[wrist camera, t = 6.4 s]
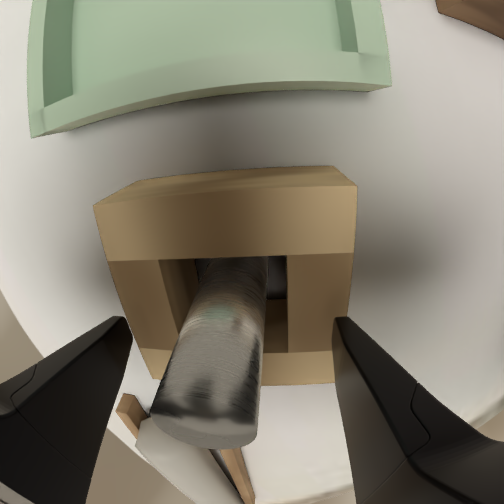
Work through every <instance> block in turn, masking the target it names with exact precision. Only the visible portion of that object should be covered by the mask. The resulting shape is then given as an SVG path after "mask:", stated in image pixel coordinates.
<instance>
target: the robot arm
mask: <svg viewBox="0 0 504 504" xmlns="http://www.w3.org/2000/svg"><path fill="white" fill-rule="evenodd" d="M132 342H133V336H132V333H131V330H130V328H129V325H128V323H127V320H126V319H125V318H124V317H122V316H113V317H111V318H109V319H108V320H106V321H104V322H103V323H101V324H99V325H98V326H96V327H94V328H93V329H91V330H89V331H88V332H86V333H85V334H83V335H81V336H80V337H78V338H76V339H75V340H73V341H72V342H70V343H68V344H67V345H65V346H63V347H62V348H60V349H59V350H57V351H55V352H54V353H52V354H51V355H49V356H47V357H46V358H44V359H43V360H41V361H39V362H38V363H37V364H34V365H33V366H31V367H30V368H28V369H26V370H25V371H23V372H21V373H20V374H18V375H16V376H14V377H13V378H11V379H9V380H7V381H6V382H3V383H1V384H0V504H85V503H86V498H87V494H88V490H89V486H90V483H91V478H92V475H93V471H94V467H95V463H96V460H97V457H98V453H99V450H100V446H101V443H102V439H103V437H104V433H105V430H106V427H107V424H108V421H109V418H110V415H111V412H112V409H113V406H114V403H115V400H116V397H117V394H118V391H119V389H120V386H121V383H122V380H123V377H124V373H125V369H126V365H127V361H128V357H129V353H130V350H131V346H132ZM331 343H332V354H333V365H334V376H335V386H336V392H337V397H338V402H339V407H340V412H341V417H342V422H343V427H344V432H345V437H346V443H347V448H348V454H349V460H350V465H351V471H352V477H353V484H354V490H355V497H356V504H504V442H501V441H496V440H493V439H490V438H488V437H486V436H484V435H483V434H481V433H480V432H478V431H477V430H476V429H474V428H473V427H472V426H470V425H469V424H468V423H467V422H465V421H464V420H463V419H461V418H460V417H459V416H457V415H456V414H455V413H453V412H452V411H451V410H449V409H448V408H447V407H446V406H444V405H443V404H442V403H441V402H439V401H438V400H437V399H436V398H435V397H434V396H433V395H432V394H431V393H429V392H428V391H427V390H426V389H425V388H424V387H423V386H422V385H421V384H420V383H417V380H416V379H414V378H413V377H412V376H411V375H410V374H409V373H408V372H407V371H406V370H405V369H404V368H403V367H402V366H401V365H400V364H399V363H398V362H396V361H395V360H394V359H393V358H392V357H391V356H390V355H389V354H388V353H387V352H386V351H385V350H384V349H383V348H382V347H381V346H379V345H378V344H377V343H376V342H375V341H374V340H373V339H372V338H371V337H370V336H369V335H368V334H367V333H365V332H364V331H363V330H362V329H361V328H360V327H359V326H358V325H357V324H356V323H355V322H354V321H352V320H351V319H350V318H349V317H347V316H341V317H335V318H334V321H333V330H332V339H331Z"/></svg>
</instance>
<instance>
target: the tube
mask: <svg viewBox="0 0 504 504" xmlns="http://www.w3.org/2000/svg"><path fill="white" fill-rule="evenodd" d="M135 447H136V448H137V449H138V450H139V451H140V453H141V454H142V455H143V456H144V457H145V458H146V460H147V461H148V462H149V463H150V464H151V465H152V466H153V467H154V468H155V469H156V470H158V471H159V472H160V473H161V474H162V475H163V476H164V477H165V478H166V479H168V480H169V481H170V482H171V483H172V484H173V485H174V486H175V487H176V488H178V489H179V490H180V491H181V492H182V493H184V494H185V495H186V496H187V497H189V498H190V499H191V500H192V501H194V502H195V503H196V504H245V503H244V501H243V499H242V498H241V496H240V495H239V494H238V492H237V491H236V490H235V488H234V487H233V485H232V484H231V483H230V481H229V480H228V478H227V477H226V475H225V474H224V472H223V471H222V469H221V468H220V466H219V465H218V463H217V462H216V460H215V459H214V457H213V456H212V454H211V452H210V451H209V449H207V448H201V447H197V446H193V445H190V444H187V443H184V442H181V441H179V440H177V439H175V438H173V437H171V436H169V435H168V434H166V433H165V432H163V431H162V430H161V429H160V428H159V427H158V426H157V425H156V424H155V423H154V422H153V420H152V418H151V417H150V418H147V419H145V420H143V421H141V424H140V428H139V433H138V438H137V441H136V444H135Z"/></svg>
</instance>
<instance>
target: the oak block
mask: <svg viewBox="0 0 504 504" xmlns="http://www.w3.org/2000/svg"><path fill="white" fill-rule="evenodd" d="M93 209H94V213H95V218H96V222H97V226H98V230H99V233H100V237H101V241H102V244H103V248H104V252H105V255H106V258H107V262H108V265H109V268H110V271H111V275H112V278H113V281H114V284H115V287H116V290H117V293H118V296H119V298H120V301H121V304H122V307H123V309H124V312H125V315H126V318H127V320H128V323H129V325H130V328H131V330H132V333H133V335H134V338H135V340H136V343H137V345H138V347H139V350H140V352H141V354H142V357H143V359H144V361H145V363H146V366H147V368H148V370H149V372H150V374H151V376H152V378H153V379H159V380H162V377H163V374H164V372H165V369H166V367H167V364H168V362H169V359H170V357H171V354H172V352H173V349H174V347H175V344H176V342H177V339H178V337H179V334H180V332H181V329H182V327H183V324H184V322H185V319H186V317H187V315H188V312H189V310H190V307H191V305H192V302H193V300H194V298H195V295H196V293H197V291H198V288H199V281H198V276H197V271H196V266H195V260H194V258H220V257H249V256H277V255H285V256H286V298H287V299H270V300H266V313H265V329H264V345H263V360H262V374H261V386H277V385H307V384H323V383H335V376H334V365H333V354H332V343H331V339H332V330H333V321H334V318H335V317H341V316H347V312H348V304H349V296H350V287H351V278H352V268H353V257H354V244H355V229H356V210H357V185H355V184H354V183H353V182H352V181H351V180H350V179H348V178H347V177H346V176H345V175H344V174H342V173H341V172H340V171H339V170H338V169H336V168H335V167H334V166H298V167H273V168H255V169H240V170H227V171H215V172H205V173H195V174H186V175H177V176H169V177H161V178H153V179H146V180H139V181H136V182H134V183H132V184H130V185H129V186H127V187H125V188H123V189H121V190H119V191H117V192H116V193H114V194H112V195H110V196H108V197H107V198H105V199H103V200H101V201H100V202H98V203H96V204H94V205H93Z"/></svg>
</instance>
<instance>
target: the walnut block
mask: <svg viewBox="0 0 504 504" xmlns="http://www.w3.org/2000/svg"><path fill="white" fill-rule="evenodd" d="M436 3H437V8H438V12H439V13H441V14H444V15H447V16H450V17H453V18H456V19H458V20H461V21H464V22H466V23H469V24H471V25H474V26H476V27H478V28H481V29H483V30H485V31H487V32H490V33H492V34H494V35H496V36H498V37H500V38H502V39H504V0H436Z"/></svg>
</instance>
